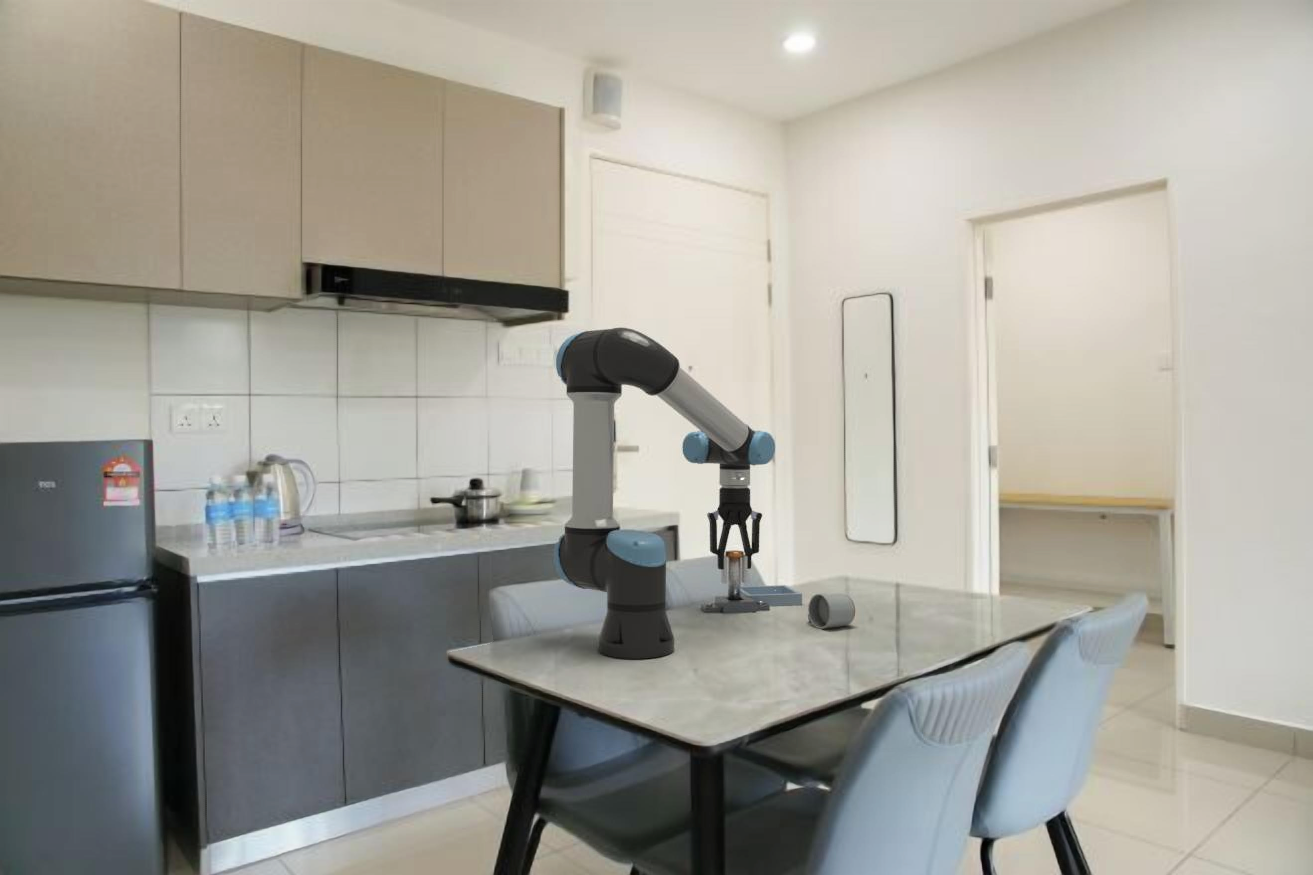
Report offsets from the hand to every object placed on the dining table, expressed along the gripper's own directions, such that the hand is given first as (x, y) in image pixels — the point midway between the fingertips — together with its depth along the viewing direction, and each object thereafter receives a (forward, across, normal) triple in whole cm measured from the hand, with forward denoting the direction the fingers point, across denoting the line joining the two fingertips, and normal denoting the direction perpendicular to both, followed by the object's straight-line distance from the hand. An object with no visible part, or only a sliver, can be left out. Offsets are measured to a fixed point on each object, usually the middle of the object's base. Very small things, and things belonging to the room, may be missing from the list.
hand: (734, 582), depth 221 cm
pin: (+4, 0, 0) cm, 4 cm away
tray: (+7, +11, +9) cm, 16 cm away
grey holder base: (+7, 0, 0) cm, 7 cm away
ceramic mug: (+7, +16, -21) cm, 27 cm away
